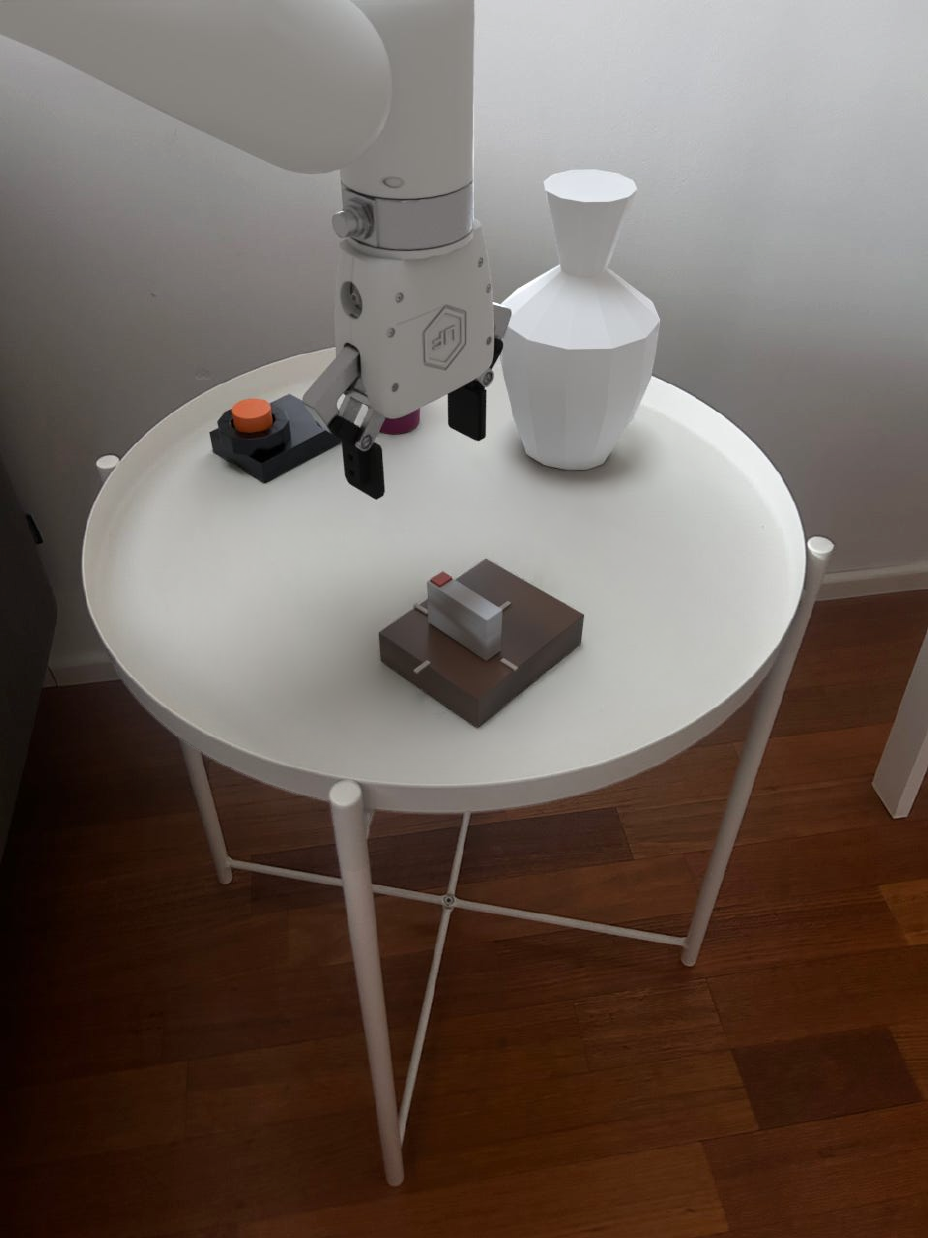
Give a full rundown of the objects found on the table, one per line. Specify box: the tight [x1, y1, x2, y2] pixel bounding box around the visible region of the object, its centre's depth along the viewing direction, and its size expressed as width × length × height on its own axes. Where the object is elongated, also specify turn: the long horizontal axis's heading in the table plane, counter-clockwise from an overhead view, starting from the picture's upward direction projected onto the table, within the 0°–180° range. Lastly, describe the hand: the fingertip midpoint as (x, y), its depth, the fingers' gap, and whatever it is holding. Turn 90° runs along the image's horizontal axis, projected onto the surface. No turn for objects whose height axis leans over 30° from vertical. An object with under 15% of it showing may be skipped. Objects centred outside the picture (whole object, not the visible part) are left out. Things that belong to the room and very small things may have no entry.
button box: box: [208, 393, 342, 484], centre depth 97 cm, size 11×8×4 cm
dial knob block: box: [377, 558, 585, 728], centre depth 76 cm, size 13×10×3 cm
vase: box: [499, 168, 661, 471], centre depth 90 cm, size 14×14×25 cm
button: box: [231, 398, 273, 433], centre depth 95 cm, size 4×4×2 cm
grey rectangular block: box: [426, 570, 502, 661], centre depth 73 cm, size 6×2×4 cm, turn 46°
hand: (418, 460), depth 70 cm, fingers open, 9 cm apart
